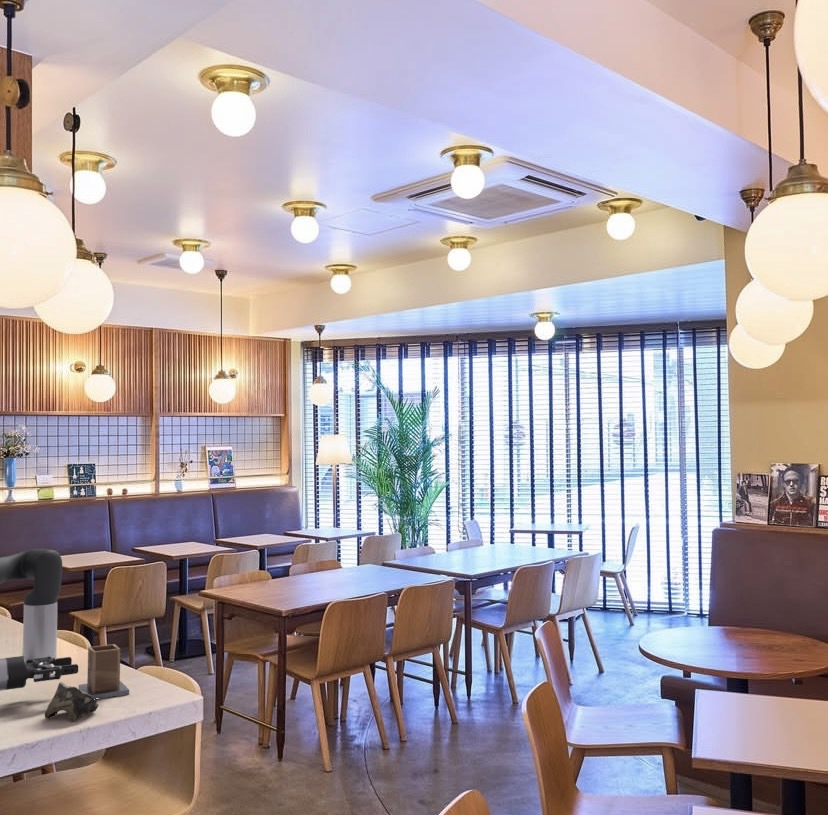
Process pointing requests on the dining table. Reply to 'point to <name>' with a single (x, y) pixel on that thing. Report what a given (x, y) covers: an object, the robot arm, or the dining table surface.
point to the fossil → (71, 702)
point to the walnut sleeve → (103, 668)
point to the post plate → (107, 693)
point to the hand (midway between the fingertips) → (74, 664)
